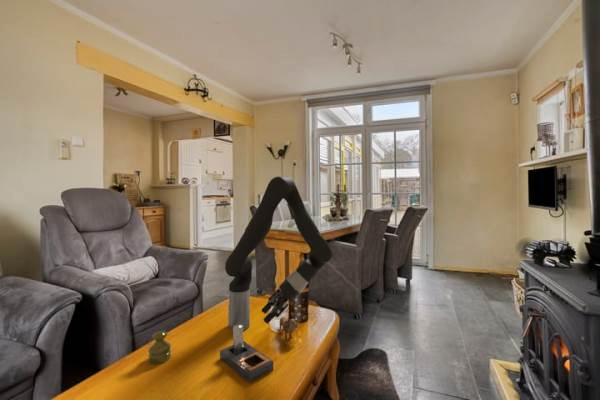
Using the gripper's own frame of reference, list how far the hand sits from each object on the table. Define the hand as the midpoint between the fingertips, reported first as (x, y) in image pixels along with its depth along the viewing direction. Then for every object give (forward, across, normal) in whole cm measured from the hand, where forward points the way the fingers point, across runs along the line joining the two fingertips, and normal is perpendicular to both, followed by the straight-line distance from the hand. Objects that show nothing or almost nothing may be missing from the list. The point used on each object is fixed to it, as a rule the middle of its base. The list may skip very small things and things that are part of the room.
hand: (264, 316), depth 108 cm
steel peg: (+17, 0, +4) cm, 17 cm away
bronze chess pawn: (+37, -6, -16) cm, 41 cm away
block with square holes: (+15, +4, +5) cm, 17 cm away
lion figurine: (+3, -12, +18) cm, 22 cm away
